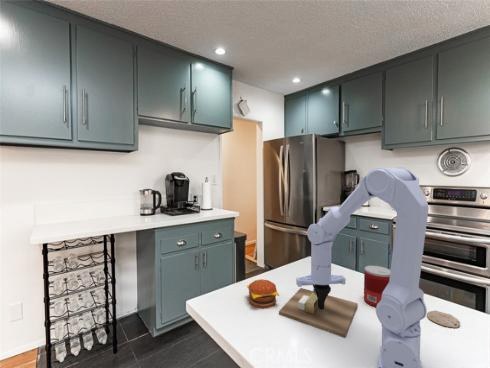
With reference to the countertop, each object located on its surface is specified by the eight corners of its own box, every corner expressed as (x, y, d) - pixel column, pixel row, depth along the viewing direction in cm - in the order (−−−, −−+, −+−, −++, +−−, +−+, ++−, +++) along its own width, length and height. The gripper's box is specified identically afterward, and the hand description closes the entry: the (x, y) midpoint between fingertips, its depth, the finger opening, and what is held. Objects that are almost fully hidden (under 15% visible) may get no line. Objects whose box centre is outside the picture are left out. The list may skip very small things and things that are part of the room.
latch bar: (314, 297, 82) (314, 287, 82) (323, 300, 81) (323, 289, 80) (305, 311, 74) (305, 299, 74) (314, 314, 73) (314, 302, 73)
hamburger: (281, 306, 79) (281, 286, 79) (252, 311, 77) (252, 290, 76) (270, 292, 88) (270, 274, 88) (244, 296, 86) (244, 277, 85)
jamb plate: (345, 337, 64) (345, 333, 64) (278, 314, 75) (278, 311, 75) (357, 306, 79) (357, 303, 79) (300, 290, 90) (300, 287, 90)
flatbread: (455, 332, 66) (455, 329, 66) (422, 319, 73) (422, 315, 73) (464, 321, 71) (464, 318, 71) (432, 309, 77) (432, 306, 77)
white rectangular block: (304, 310, 75) (304, 303, 75) (298, 308, 76) (298, 301, 76) (309, 303, 79) (309, 296, 79) (303, 301, 80) (303, 295, 80)
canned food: (395, 310, 77) (396, 275, 76) (367, 307, 78) (368, 273, 78) (386, 298, 84) (387, 266, 84) (361, 295, 86) (361, 264, 85)
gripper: (337, 257, 78) (337, 299, 79) (293, 259, 77) (293, 302, 78) (349, 266, 71) (348, 311, 72) (300, 268, 70) (300, 315, 71)
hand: (320, 307), depth 74 cm, fingers closed, pressing on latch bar
